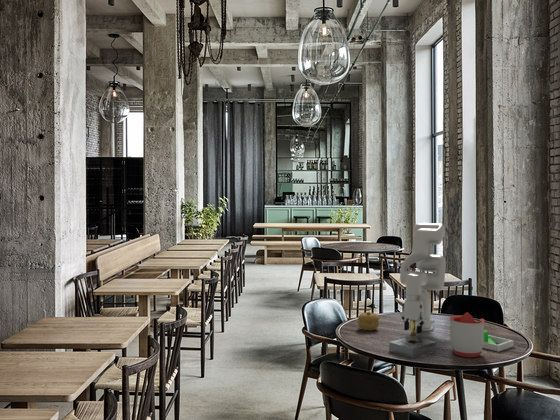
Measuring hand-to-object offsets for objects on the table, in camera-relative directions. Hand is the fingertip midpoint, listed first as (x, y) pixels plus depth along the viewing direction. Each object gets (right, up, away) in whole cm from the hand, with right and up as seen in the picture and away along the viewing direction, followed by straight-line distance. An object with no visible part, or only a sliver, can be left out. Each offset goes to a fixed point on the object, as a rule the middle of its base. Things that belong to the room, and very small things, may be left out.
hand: (412, 331), depth 286 cm
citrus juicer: (+20, -6, -25) cm, 32 cm away
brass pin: (0, -4, 0) cm, 4 cm away
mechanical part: (+35, -5, -8) cm, 36 cm away
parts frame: (+35, -5, -9) cm, 37 cm away
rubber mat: (0, -4, 0) cm, 4 cm away
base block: (-5, -5, -21) cm, 22 cm away
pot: (-20, -4, +20) cm, 29 cm away
